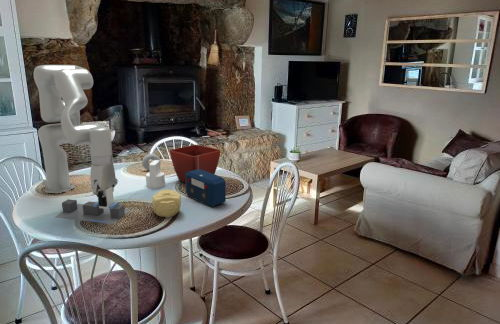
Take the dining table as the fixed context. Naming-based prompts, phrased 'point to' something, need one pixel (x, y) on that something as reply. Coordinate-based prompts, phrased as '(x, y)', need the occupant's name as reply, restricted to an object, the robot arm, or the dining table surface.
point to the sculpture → (166, 203)
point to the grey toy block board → (92, 212)
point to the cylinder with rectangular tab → (155, 176)
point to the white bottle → (108, 197)
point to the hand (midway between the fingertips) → (106, 203)
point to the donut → (146, 160)
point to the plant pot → (194, 159)
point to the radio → (205, 187)
